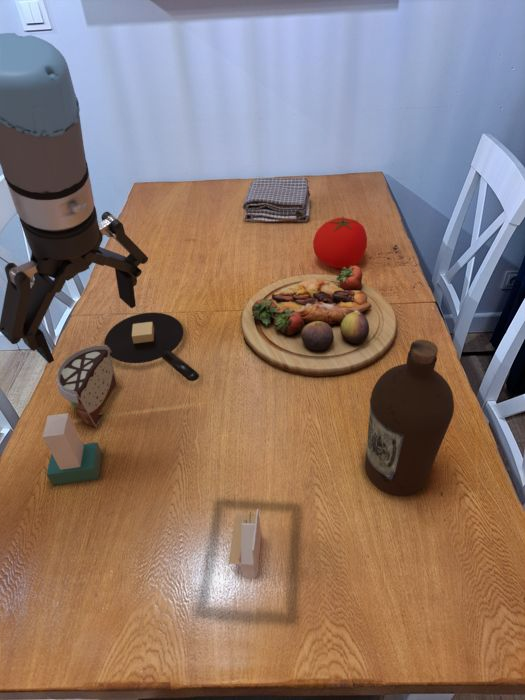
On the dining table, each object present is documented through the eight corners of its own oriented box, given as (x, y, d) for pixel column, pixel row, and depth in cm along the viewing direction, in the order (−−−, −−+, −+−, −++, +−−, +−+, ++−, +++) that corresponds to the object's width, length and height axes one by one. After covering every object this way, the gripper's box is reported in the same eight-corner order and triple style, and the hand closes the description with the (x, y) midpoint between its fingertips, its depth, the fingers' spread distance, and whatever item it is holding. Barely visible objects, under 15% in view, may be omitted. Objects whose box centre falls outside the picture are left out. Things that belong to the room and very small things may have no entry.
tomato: (374, 258, 121) (379, 217, 113) (345, 282, 113) (349, 240, 106) (333, 244, 127) (336, 204, 119) (303, 266, 119) (304, 225, 112)
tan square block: (153, 341, 98) (151, 333, 97) (133, 343, 98) (131, 336, 97) (154, 328, 101) (152, 321, 100) (134, 331, 101) (132, 323, 100)
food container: (92, 379, 93) (76, 339, 86) (122, 383, 92) (108, 343, 85) (59, 430, 84) (39, 389, 77) (92, 435, 83) (74, 394, 76)
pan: (91, 342, 101) (88, 333, 100) (156, 308, 109) (154, 300, 107) (161, 408, 87) (159, 399, 85) (230, 364, 94) (229, 354, 93)
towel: (250, 200, 148) (249, 175, 143) (311, 201, 146) (312, 175, 141) (243, 224, 137) (241, 197, 132) (308, 225, 135) (309, 198, 130)
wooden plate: (325, 266, 119) (326, 236, 113) (429, 331, 99) (437, 298, 93) (212, 317, 106) (208, 285, 100) (307, 404, 86) (308, 370, 80)
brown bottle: (402, 433, 80) (431, 311, 64) (446, 483, 73) (491, 360, 56) (347, 457, 77) (361, 335, 60) (387, 512, 70) (416, 391, 53)
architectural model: (230, 577, 64) (225, 550, 59) (237, 527, 69) (233, 498, 64) (257, 579, 64) (253, 551, 59) (261, 529, 69) (259, 500, 64)
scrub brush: (98, 479, 76) (77, 434, 69) (52, 486, 76) (26, 441, 68) (102, 453, 80) (82, 408, 72) (58, 459, 79) (34, 414, 72)
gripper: (-39, 292, 43) (23, 400, 61) (173, 179, 55) (174, 296, 73) (-85, 244, 45) (-12, 362, 63) (129, 145, 57) (141, 267, 75)
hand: (88, 327), depth 68 cm, fingers open, 13 cm apart
